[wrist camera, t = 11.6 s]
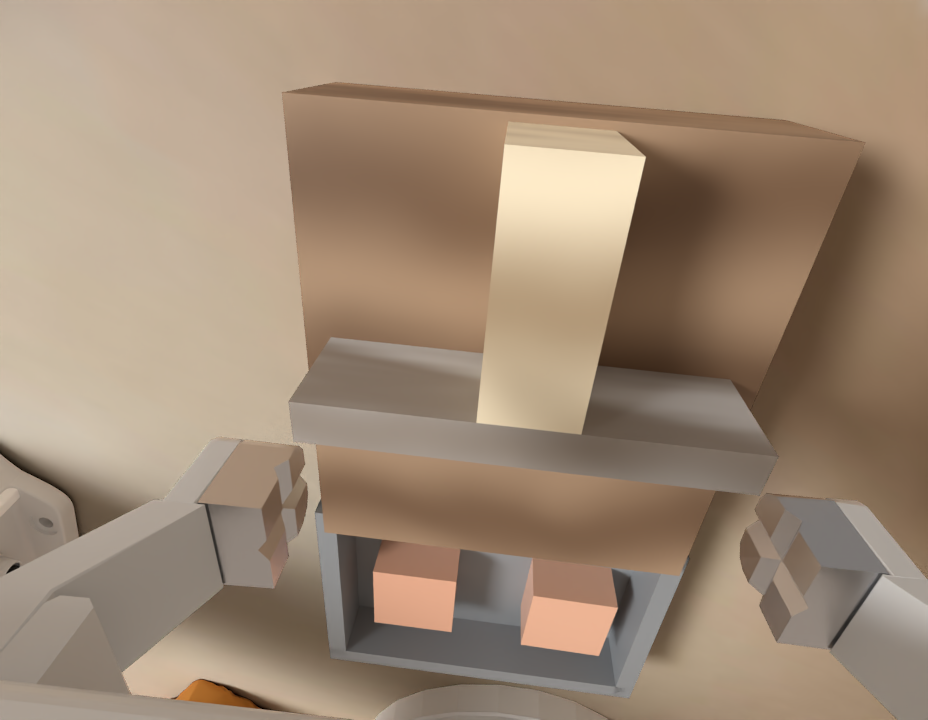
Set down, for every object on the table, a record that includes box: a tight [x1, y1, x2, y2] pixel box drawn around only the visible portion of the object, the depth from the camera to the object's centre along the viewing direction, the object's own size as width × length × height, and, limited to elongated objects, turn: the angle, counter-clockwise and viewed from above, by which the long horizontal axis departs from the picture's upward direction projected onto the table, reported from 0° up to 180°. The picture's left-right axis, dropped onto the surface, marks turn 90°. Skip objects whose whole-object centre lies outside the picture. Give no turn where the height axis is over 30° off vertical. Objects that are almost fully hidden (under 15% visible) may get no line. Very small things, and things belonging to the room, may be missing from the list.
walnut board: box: [282, 82, 865, 576], centre depth 21 cm, size 18×16×5 cm
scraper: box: [289, 122, 779, 496], centre depth 15 cm, size 9×14×4 cm, turn 86°
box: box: [315, 500, 690, 698], centre depth 30 cm, size 12×18×4 cm
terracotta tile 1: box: [521, 558, 618, 656], centre depth 30 cm, size 4×4×2 cm
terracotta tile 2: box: [373, 540, 460, 632], centre depth 31 cm, size 4×4×2 cm
